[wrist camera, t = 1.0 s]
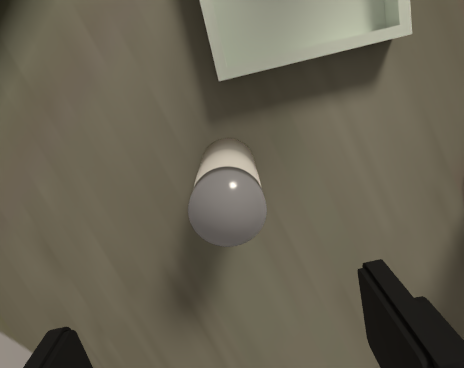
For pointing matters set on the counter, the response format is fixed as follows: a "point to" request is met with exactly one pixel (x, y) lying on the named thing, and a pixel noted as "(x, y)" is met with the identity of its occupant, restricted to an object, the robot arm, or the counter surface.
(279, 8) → the tray
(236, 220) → the shaker
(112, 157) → the counter surface
